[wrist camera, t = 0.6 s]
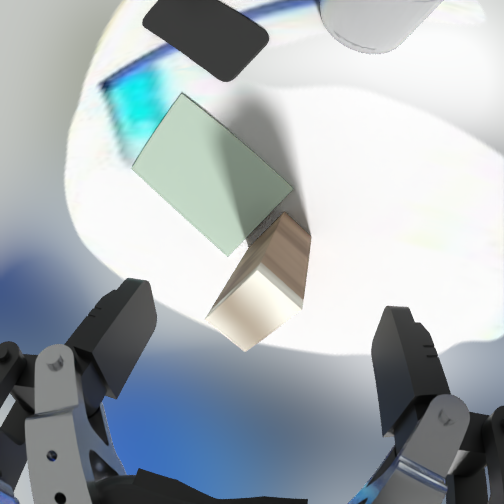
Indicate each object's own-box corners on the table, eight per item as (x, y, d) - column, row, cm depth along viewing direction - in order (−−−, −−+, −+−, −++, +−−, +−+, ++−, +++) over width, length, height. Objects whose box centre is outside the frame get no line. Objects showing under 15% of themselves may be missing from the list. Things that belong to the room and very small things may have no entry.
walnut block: (284, 211, 31) (257, 270, 19) (311, 236, 32) (301, 309, 19) (248, 247, 34) (204, 319, 21) (274, 271, 34) (245, 352, 22)
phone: (177, -21, 22) (273, 35, 24) (180, -19, 23) (274, 37, 24) (138, 24, 25) (225, 85, 27) (142, 25, 26) (228, 87, 28)
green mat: (182, 94, 28) (181, 93, 28) (293, 188, 30) (293, 188, 30) (132, 168, 33) (131, 168, 33) (228, 255, 35) (227, 257, 35)
